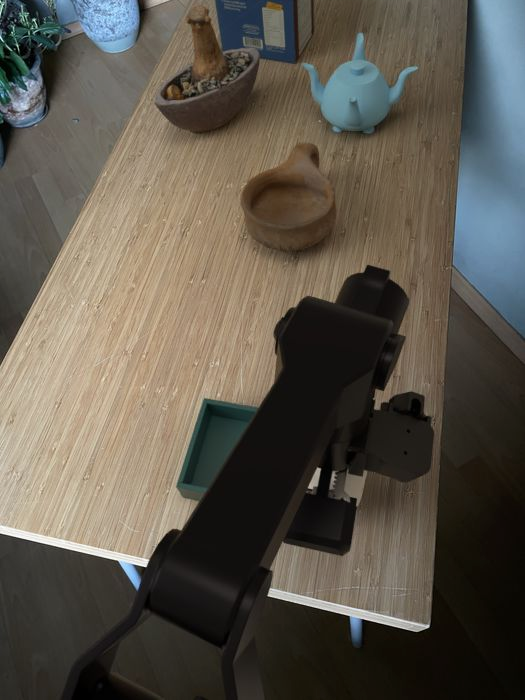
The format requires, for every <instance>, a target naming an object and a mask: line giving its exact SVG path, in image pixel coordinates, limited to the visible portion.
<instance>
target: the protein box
mask: <svg viewBox="0 0 525 700" xmlns="http://www.w3.org/2000/svg"><path fill="white" fill-rule="evenodd" d="M214 4H215V11H216V18H217V19H216V20H217V25H218V31H219V39H220V45H221V47H220V48H221V50H222V52H224V51H227V50H232V49H233V50H236V49H240V48H252V49H256V50H257V51H258V52H259V54H260V59H263V60H264V59H265V60H271V61H275V62H276V61H277V62H283V63H288V64H297V62H298V60H299V59H300V57H301V55H302V54H303V52H304V50H305V48H306V47H307V45H308V43H309V42H310V40H311V38H312V36H313V35H314V33H315V18H314V17H315V15H314V14H315V13H314V11H315V10H314V8H315V7H314V0H214Z"/></svg>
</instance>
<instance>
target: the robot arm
mask: <svg viewBox="0 0 525 700" xmlns="http://www.w3.org/2000/svg"><path fill="white" fill-rule="evenodd" d="M390 277H391V270H389V269H385V268H381V267H378V266H374V265H372V264H371V265H370V264H366V265H365V269H364V270H363V272H356V273H353V274H350V275H349V276H348V277H346V278H345V280H344V281H343V283H342V286H341V287H340V290H339V291H338V295H337V297H336V299H335V301H334V302H332V301H329V300H326V299H323V298H320V297H316V296H311V295H306V296H304V297H303V298H302V299H300V300H299V302H298V303H297V305H296V306H295V307H293V306H292V307H290V308H288V310H287V311H286V312H285V313H284V316H282V317H281V318H280V320H278V321H277V323H276V324H275V326H274V329H273V333H272V335H273V336H272V337H273V339H274V341H275V343H274V354H275V356H276V360H275V370H274V377H273V378H274V379H273V384H271V387H270V389H268V392H267V393H266V395H265V396H264V398H263V400H262V401H261V403H260V404H259V406H258V407H257V408H258V409H257V411H256V412H255V414H254V416H253V417H252V419H251V420H250V422H249V423H248V425H247V427H246V428H245V430H244V431H243V433H242V435H241V436H240V438H239V439H238V441H237V443H236V444H235V446H234V447H233V449H232V450H231V452H230V454H229V455H228V457H227V458H226V460H225V462H224V463H223V465H222V466H221V468H220V470H219V471H218V473H217V474H216V476H215V477H214V479H213V481H212V482H211V484H210V485H209V487H208V489H207V490H206V492H205V493H204V495H203V497H202V498H201V500H200V501H198V503H197V505H196V506H195V507H194V509H193V511H192V513H191V514H190V516H189V517H188V518H187V520H186V522H185V524H184V525H183V527H182V528H181V529H178V528H171V529H170V530H168V532H167V533H165V534H164V535H163V537H162V538H161V539H160V541H159V542H158V543H157V545H156V547H155V549H154V551H153V552H152V554H151V556H150V557H149V559H148V562H147V565H146V566H145V569H144V572H143V573H142V575H141V580H140V581H139V584H138V585H139V586H138V588H137V591H136V593H135V596H134V600H133V603H132V604H131V608H130V611H129V613H128V614H127V615H126V616H125V617H124V618H122V619H121V620H119V622H118V623H117V624H115V625H114V626H113V627H112V628H111V629H110V630H109V631H107V632H106V633H105V634H103V636H102V637H101V638H99V639H98V640H97V641H96V642H95V643H94V644H92V645H91V646H90V647H89V648H88V649H86V650H85V651H84V652H83V653H82V654H81V655H80V656H79V657H78V658H76V659H75V661H74V662H73V664H72V665H71V668H70V669H69V672H68V676H67V678H66V681H65V684H64V687H63V689H62V693H61V695H60V698H59V700H167V699H166V698H164V697H162V696H160V695H159V694H156V693H154V692H152V691H150V690H149V689H147V688H145V687H143V686H141V685H140V684H138V683H136V682H134V681H132V680H130V679H128V678H126V677H124V676H123V675H121V674H119V673H117V672H114V671H113V672H111V670H112V668H113V664H114V661H115V659H116V657H117V653H118V650H119V646H120V644H121V643H122V642H123V641H124V640H125V639H126V638H127V637H128V636H130V635H131V634H132V633H133V632H134V631H135V630H137V629H138V628H139V627H140V626H141V625H142V624H144V623H145V622H146V620H148V619H149V618H150V617H151V616H153V617H156V618H157V619H160V620H161V621H164V622H165V623H168V624H170V625H171V626H174V627H175V628H178V629H179V630H181V631H184V632H186V633H188V634H190V635H192V636H193V637H195V638H198V639H200V640H202V641H204V642H206V643H208V644H210V645H212V646H214V647H216V648H218V649H220V650H222V651H223V652H222V655H221V663H220V670H221V677H222V685H223V689H224V690H223V691H224V698H225V700H266V699H265V692H264V685H263V680H262V673H261V667H260V661H259V656H258V650H257V644H256V637H255V636H256V632H257V629H258V625H259V623H260V620H261V617H262V614H263V611H264V609H265V608H264V607H265V605H266V602H267V599H268V596H269V593H270V589H271V586H272V581H273V577H274V572H273V570H271V567H272V565H273V564H274V561H275V559H276V557H277V555H278V553H279V551H280V548H281V546H282V544H285V545H290V546H295V547H298V548H299V547H300V548H304V549H308V550H313V551H317V552H322V553H326V554H331V555H335V556H339V557H343V556H345V555H347V554H348V553H349V552H351V548H352V542H353V535H354V528H355V524H356V516H357V510H358V507H357V506H356V503H357V498H353V497H349V495H348V494H347V493H346V492H345V491H344V487H345V481H346V476H347V470H348V474H351V475H356V476H361V477H363V473H364V470H365V471H367V472H369V473H370V472H371V473H375V474H378V475H381V476H384V477H386V478H389V479H392V480H396V481H397V482H399V483H402V484H408V483H411V482H413V481H414V480H417V479H418V478H421V477H423V476H425V475H427V474H428V473H429V472H430V471H431V470H432V469H431V468H432V464H433V463H432V462H433V451H434V442H435V441H434V440H435V430H434V428H433V427H432V420H433V419H432V418H433V417H432V416H431V415H427V414H425V404H426V396H425V395H424V394H421V393H419V392H414V391H413V390H411V391H406V392H402V393H401V392H400V393H397V394H395V395H393V396H392V397H391V398H389V399H388V401H383V402H380V403H381V404H380V408H379V409H375V405H376V399H375V397H376V391H377V390H378V391H381V392H384V391H385V390H386V387H387V385H388V383H389V382H390V379H391V377H392V375H393V372H394V371H395V368H396V366H397V364H398V361H399V358H400V356H401V353H402V351H403V347H404V345H405V342H406V338H407V336H406V335H403V334H399V331H400V330H401V329H400V328H401V327H402V323H403V321H404V318H405V316H406V312H407V310H408V307H409V304H410V298H409V297H408V294H407V292H405V290H404V289H403V287H401V286H400V285H399V284H398V283H397V282H395V281H394V280H393V279H391V278H390ZM317 467H318V468H320V469H321V471H320V476H319V481H318V486H317V487H316V486H313V489H309V488H308V486H309V484H310V482H311V480H312V478H313V476H314V474H315V471H316V469H317ZM333 471H338V472H335V475H337V476H335V477H334V479H336V480H334V483H335V485H333V487H334V488H335V489H332V490H330V484H331V478H332V473H333ZM334 493H335V494H334ZM193 700H209V699H208V698H206V697H204V696H202V695H201V696H200V695H194V697H193Z"/></svg>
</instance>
